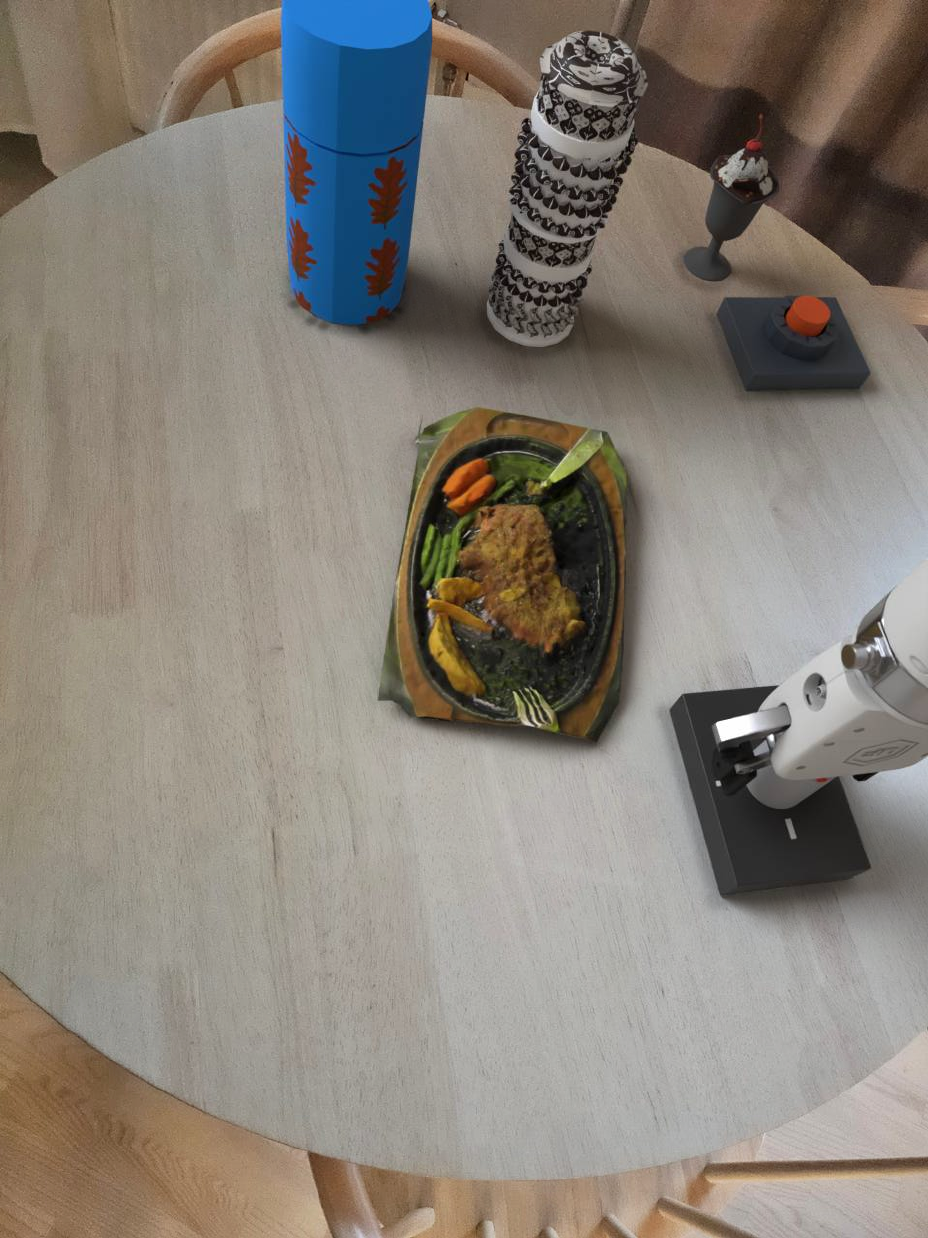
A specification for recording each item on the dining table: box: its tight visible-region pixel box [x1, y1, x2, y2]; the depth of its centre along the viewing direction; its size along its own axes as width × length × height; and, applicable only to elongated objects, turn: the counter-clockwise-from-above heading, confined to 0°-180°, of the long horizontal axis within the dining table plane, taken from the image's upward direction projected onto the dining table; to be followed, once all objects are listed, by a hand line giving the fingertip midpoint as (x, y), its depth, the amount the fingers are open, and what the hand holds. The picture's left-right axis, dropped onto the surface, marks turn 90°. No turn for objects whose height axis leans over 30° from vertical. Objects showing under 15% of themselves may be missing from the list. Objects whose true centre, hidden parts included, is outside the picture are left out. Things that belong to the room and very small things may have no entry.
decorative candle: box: [486, 29, 649, 348], centre depth 79 cm, size 9×9×25 cm
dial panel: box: [669, 684, 872, 897], centre depth 68 cm, size 14×10×3 cm
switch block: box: [716, 295, 872, 392], centre depth 91 cm, size 12×10×4 cm
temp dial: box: [746, 732, 835, 809], centre depth 64 cm, size 5×5×6 cm
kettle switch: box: [786, 295, 830, 337], centre depth 89 cm, size 4×4×2 cm
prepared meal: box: [377, 406, 628, 744], centre depth 74 cm, size 28×4×18 cm
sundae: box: [683, 113, 780, 282], centre depth 90 cm, size 7×7×15 cm
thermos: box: [280, 0, 433, 326], centre depth 77 cm, size 11×11×25 cm
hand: (787, 767), depth 65 cm, fingers open, 9 cm apart
